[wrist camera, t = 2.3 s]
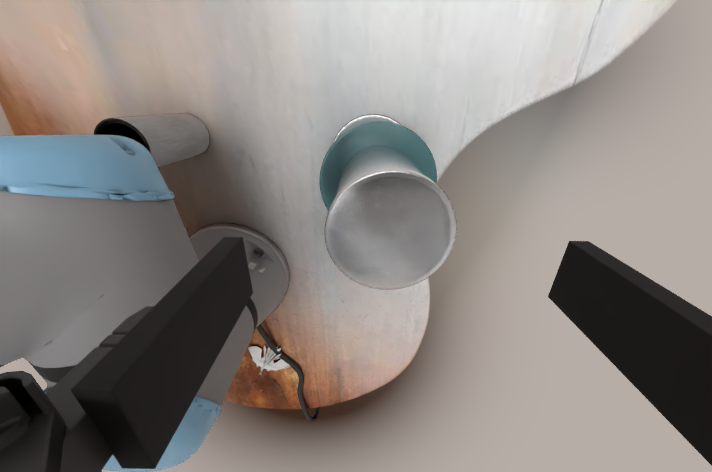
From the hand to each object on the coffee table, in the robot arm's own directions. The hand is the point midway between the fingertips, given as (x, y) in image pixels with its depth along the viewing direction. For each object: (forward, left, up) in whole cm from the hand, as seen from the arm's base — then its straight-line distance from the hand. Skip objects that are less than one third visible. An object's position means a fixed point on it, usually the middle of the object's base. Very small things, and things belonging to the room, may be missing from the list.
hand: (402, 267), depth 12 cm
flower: (-32, +16, -24) cm, 43 cm away
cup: (0, 0, -13) cm, 13 cm away
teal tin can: (0, 0, -24) cm, 24 cm away
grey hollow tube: (+3, +21, -24) cm, 32 cm away
